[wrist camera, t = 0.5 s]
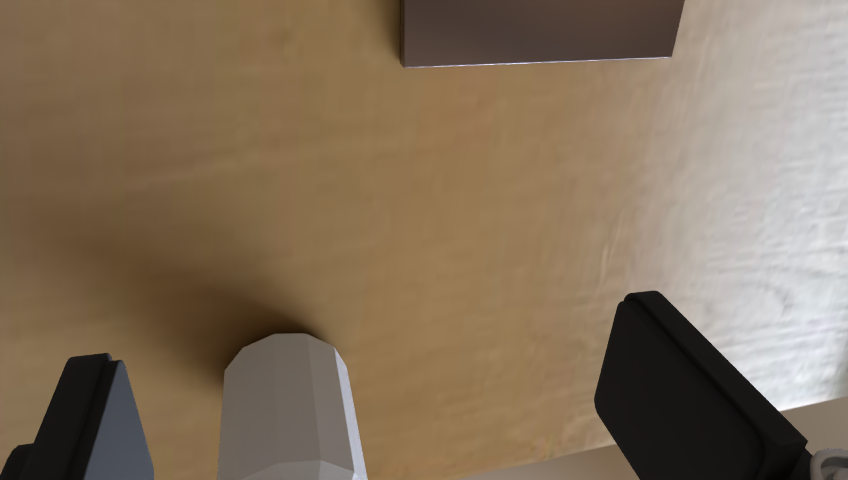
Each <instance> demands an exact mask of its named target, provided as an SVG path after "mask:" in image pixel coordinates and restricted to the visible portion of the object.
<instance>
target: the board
mask: <svg viewBox="0 0 848 480" xmlns="http://www.w3.org/2000/svg"><path fill="white" fill-rule="evenodd" d="M684 1H685V0H400V64H401V65H402V66H403V67H404V68H420V67H446V66H471V65H497V64H522V63H548V62H573V61H599V60H625V59H650V58H671V57H672V53H673V49H674V45H675V40H676V36H677V31H678V27H679V23H680V18H681V14H682V10H683V5H684Z"/></svg>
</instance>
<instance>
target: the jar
mask: <svg viewBox="0 0 848 480" xmlns="http://www.w3.org/2000/svg"><path fill="white" fill-rule="evenodd" d="M217 480H367V474H366V469H365V464H364V458H363V453H362V447H361V442H360V437H359V431H358V426H357V420H356V415H355V409H354V404H353V399H352V393H351V388H350V382H349V377H348V372H347V367H346V365H345V364H344V362H343V360H342V359H341V357H340V356H339V354H338V352H337V351H336V349H335V347H334V346H332V345H330V344H328V343H326V342H323V341H321V340H319V339H317V338H315V337H313V336H310V335H308V334H304V333H285V334H273V335H271V336H268V337H266V338H264V339H262V340H259V341H257V342H255V343H253V344H250V345H248V346H246V347H243V348H242V349H241V351H240V352H239V353H238V354H237V356H236V357H235V358H234V359H233V361H232V362H231V363H230V364H229V366H228V367H227V368H226V369H225V372H224V387H223V401H222V415H221V430H220V444H219V458H218V472H217Z"/></svg>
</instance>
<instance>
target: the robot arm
mask: <svg viewBox="0 0 848 480" xmlns="http://www.w3.org/2000/svg"><path fill="white" fill-rule="evenodd" d="M594 403H595V408H596V411H597V413H598V415H599V417H600V418H601V420H602V422H603V423H604V425H605V426H606V428H607V429H608V431H609V432H610V434H611V435H612V437H613V439H614V440H615V442H616V443H617V445H618V446H619V448H620V449H621V451H622V453H623V454H624V456H625V457H626V459H627V460H628V462H629V463H630V465H631V466H632V468H633V470H634V471H635V472H636V474H637V476H638V477H639V479H640V480H848V451H847V450H843V449H829V448H828V449H824V450H821V451H818V452H817V453H816V454H815V455H814V456H812V455H811V454H810V453H809V452H808V451H807V450H806V449H805V446H806V444H807V442H808V441H807V440H806V439H805V437H804V436H802V435H801V433H800V432H799V431H798V430H797V429H795V428H794V427H793V425H792V424H791V423H790V422H789V421H788V420H787V419H786V418H785V417H784V416H783V415H782V414H781V413H780V412H779V411H778V410H777V409H776V408H775V407H774V406H773V405H772V404H771V403H770V402H769V401H768V400H767V399H766V398H765V397H764V396H763V395H762V394H761V393H760V392H759V391H758V390H757V389H756V388H755V387H754V386H753V385H752V384H751V383H750V382H749V381H748V380H747V379H746V378H745V377H744V376H743V375H742V374H741V373H740V372H739V371H738V370H737V369H736V368H735V367H734V366H733V365H732V364H731V363H730V362H729V361H728V360H727V359H726V358H725V357H724V356H723V355H722V354H721V353H720V352H719V351H718V350H717V349H716V348H715V347H714V346H713V345H712V344H711V343H710V342H709V341H708V340H707V339H706V338H705V337H704V336H703V335H702V334H701V333H700V332H699V331H698V330H697V329H696V328H695V327H694V326H693V325H692V324H691V323H690V322H689V321H688V320H687V319H686V318H685V317H684V316H683V315H682V314H681V313H680V312H679V311H678V310H677V309H676V308H675V307H674V306H673V305H672V304H671V303H670V302H669V301H668V300H667V299H666V298H665V297H664V296H663V295H662V294H661V293H659V292H658V291H645V292H637V293H630V294H628V295H627V296H626V297H625V298H624V301H622V302H620V303H619V304H618V306H617V310H616V314H615V318H614V322H613V326H612V329H611V333H610V337H609V341H608V345H607V349H606V353H605V357H604V361H603V365H602V369H601V373H600V377H599V381H598V385H597V389H596V393H595V398H594ZM0 480H154V469H153V464H152V460H151V457H150V453H149V450H148V446H147V442H146V439H145V435H144V432H143V428H142V425H141V421H140V417H139V414H138V410H137V407H136V403H135V399H134V396H133V392H132V389H131V385H130V382H129V378H128V374H127V371H126V367H125V364H124V362H123V361H122V360H117V361H113V360H112V357H111V356H110V354H108V353H102V354H94V355H85V356H76V357H71V358H69V359H68V361H67V363H66V365H65V367H64V370H63V372H62V375H61V377H60V380H59V382H58V385H57V387H56V390H55V392H54V394H53V397H52V399H51V402H50V404H49V407H48V409H47V412H46V414H45V416H44V419H43V421H42V424H41V426H40V429H39V431H38V434H37V436H36V438H35V441H34V443H32V444H25V445H18V446H17V447H16V448H15V449H14V450H13V451H12V452H11V454H10V456H9V457H8V459H7V461H6V464H5V466H4V468H3V470H2V473H1V475H0Z"/></svg>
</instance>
